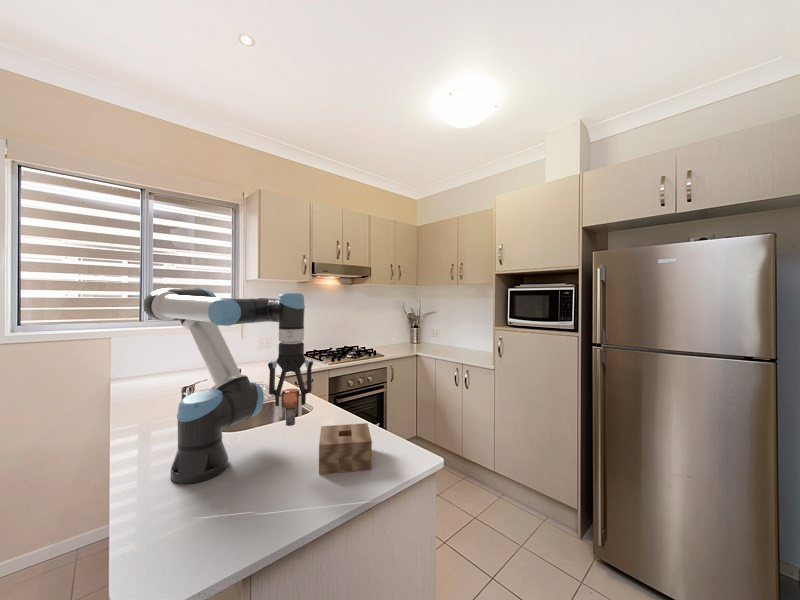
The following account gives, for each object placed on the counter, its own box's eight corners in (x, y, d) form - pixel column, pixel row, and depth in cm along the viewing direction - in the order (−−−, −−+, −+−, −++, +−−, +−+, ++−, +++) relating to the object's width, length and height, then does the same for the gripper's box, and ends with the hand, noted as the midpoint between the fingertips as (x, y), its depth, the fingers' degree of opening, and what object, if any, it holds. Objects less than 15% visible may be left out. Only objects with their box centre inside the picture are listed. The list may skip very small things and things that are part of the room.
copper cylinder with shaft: (280, 428, 98) (280, 393, 98) (283, 421, 103) (283, 388, 103) (298, 426, 99) (298, 393, 99) (299, 420, 104) (300, 388, 104)
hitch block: (318, 474, 97) (319, 445, 97) (321, 452, 111) (321, 426, 111) (371, 469, 100) (371, 441, 100) (367, 448, 114) (367, 423, 114)
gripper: (257, 344, 95) (256, 421, 96) (320, 343, 99) (319, 418, 99) (263, 340, 103) (262, 412, 103) (321, 339, 106) (320, 409, 107)
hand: (290, 415), depth 101 cm, fingers closed on copper cylinder with shaft, 5 cm apart
